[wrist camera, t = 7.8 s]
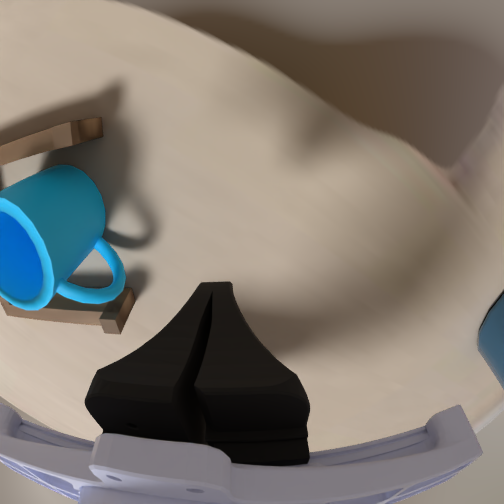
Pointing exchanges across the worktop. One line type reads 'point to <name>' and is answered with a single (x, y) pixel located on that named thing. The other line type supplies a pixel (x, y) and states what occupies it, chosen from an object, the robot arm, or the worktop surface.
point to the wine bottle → (493, 340)
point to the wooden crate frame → (76, 312)
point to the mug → (53, 238)
